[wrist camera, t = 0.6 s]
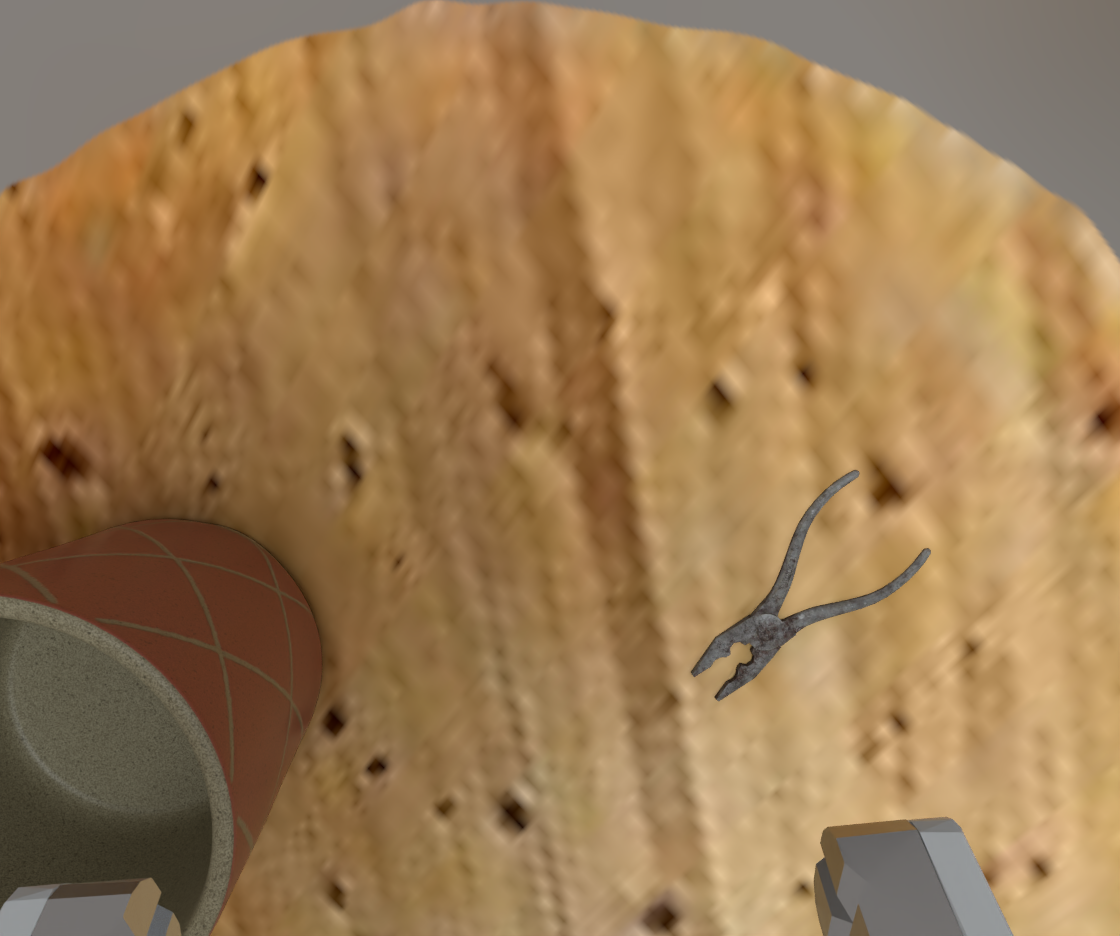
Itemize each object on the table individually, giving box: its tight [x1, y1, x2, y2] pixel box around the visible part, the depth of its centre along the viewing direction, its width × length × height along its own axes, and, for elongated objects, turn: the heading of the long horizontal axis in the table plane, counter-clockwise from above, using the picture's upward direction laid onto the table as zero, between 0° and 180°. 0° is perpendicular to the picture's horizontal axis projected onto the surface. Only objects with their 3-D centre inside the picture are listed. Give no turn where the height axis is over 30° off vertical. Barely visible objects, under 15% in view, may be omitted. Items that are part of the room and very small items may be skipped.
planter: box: [0, 519, 322, 936], centre depth 51 cm, size 23×23×24 cm
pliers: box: [691, 470, 931, 701], centre depth 64 cm, size 10×1×20 cm
